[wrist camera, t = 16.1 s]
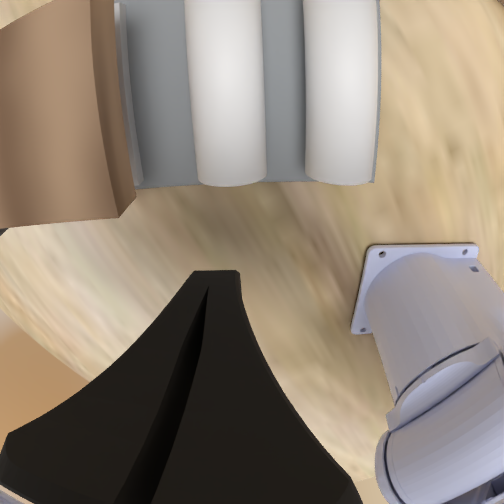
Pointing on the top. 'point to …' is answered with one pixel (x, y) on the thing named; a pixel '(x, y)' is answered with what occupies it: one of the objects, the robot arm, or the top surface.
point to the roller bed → (175, 91)
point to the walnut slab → (62, 117)
